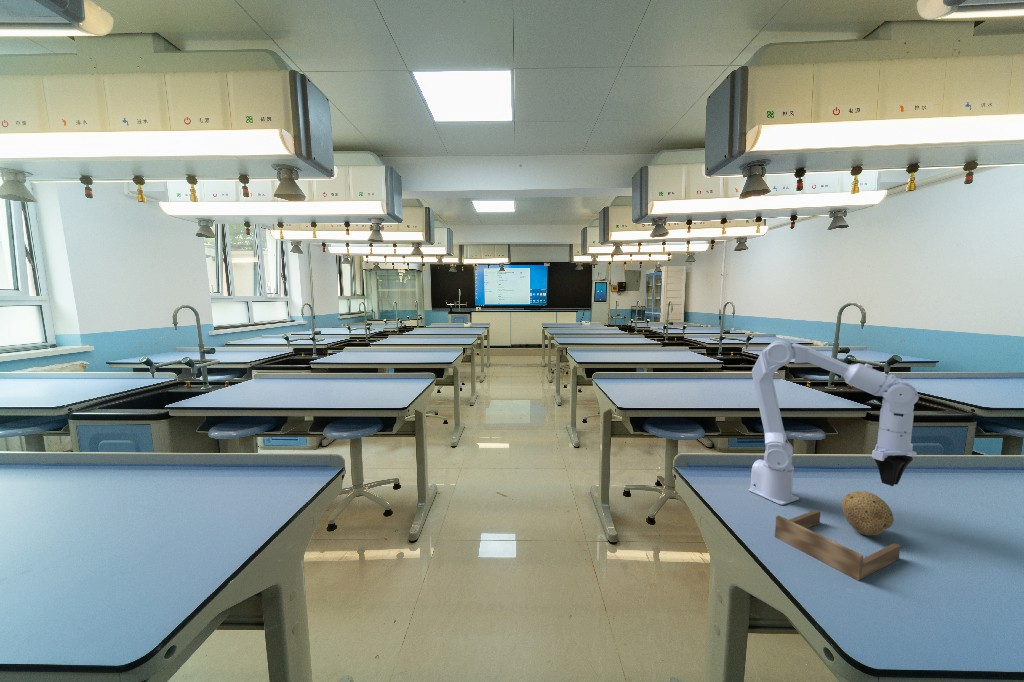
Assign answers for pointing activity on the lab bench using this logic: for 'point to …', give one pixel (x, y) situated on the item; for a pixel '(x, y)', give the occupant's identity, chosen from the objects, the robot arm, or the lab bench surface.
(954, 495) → the lab bench surface
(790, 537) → the wooden u-shaped fence
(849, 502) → the natural sponge
